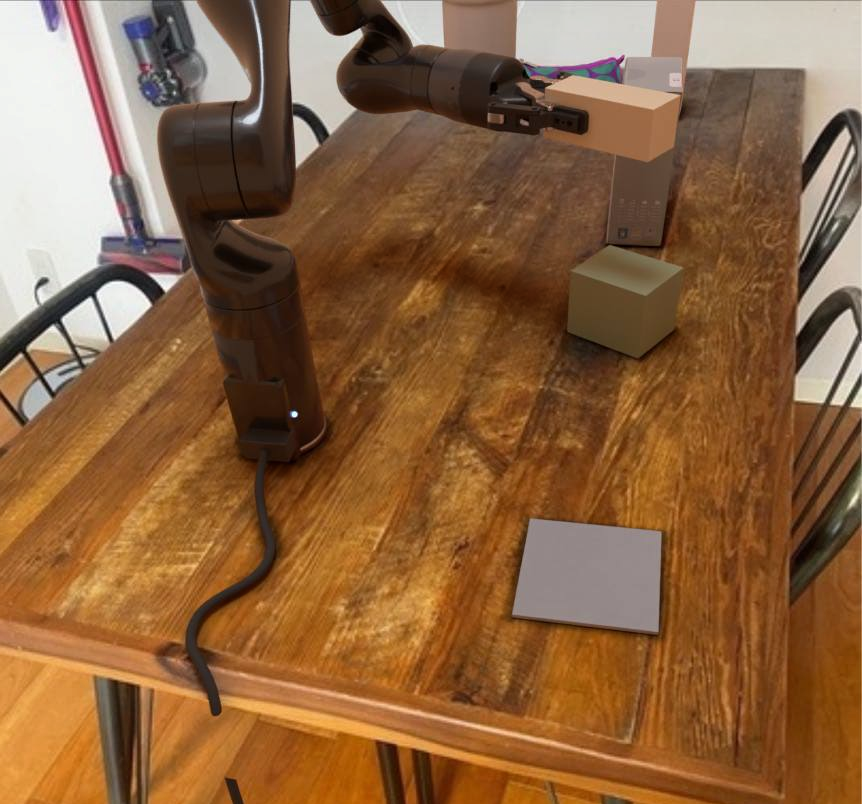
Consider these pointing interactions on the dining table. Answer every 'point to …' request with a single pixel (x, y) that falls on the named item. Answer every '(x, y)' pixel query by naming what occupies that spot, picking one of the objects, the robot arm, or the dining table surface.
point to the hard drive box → (643, 164)
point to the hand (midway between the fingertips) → (601, 115)
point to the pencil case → (582, 70)
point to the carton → (618, 117)
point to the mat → (590, 576)
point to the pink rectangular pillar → (673, 31)
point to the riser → (624, 300)
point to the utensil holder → (481, 25)
